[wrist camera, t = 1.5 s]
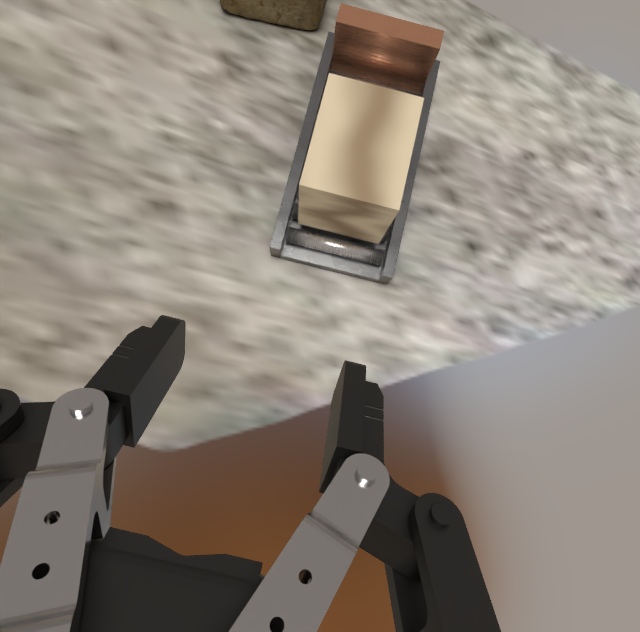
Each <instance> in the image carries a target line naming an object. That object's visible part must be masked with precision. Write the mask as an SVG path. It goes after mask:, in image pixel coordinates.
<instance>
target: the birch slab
mask: <svg viewBox="0 0 640 632" xmlns="http://www.w3.org/2000/svg"><path fill="white" fill-rule="evenodd" d="M423 102H424V98H423V97H419V96H415V95H412V94H408V93H404V92H400V91H396V90H392V89H389V88H385V87H381V86H377V85H373V84H370V83H366V82H362V81H358V80H354V79H351V78H347V77H343V76H339V75H335V74H332V73H329V75H328V79H327V82H326V86H325V90H324V94H323V97H322V101H321V105H320V109H319V112H318V116H317V120H316V123H315V127H314V131H313V135H312V138H311V142H310V146H309V149H308V153H307V157H306V161H305V164H304V168H303V172H302V176H301V179H300V183H299V207H298V224H302V225H306V226H310V227H314V228H318V229H322V230H326V231H329V232H333V233H337V234H341V235H345V236H349V237H353V238H357V239H361V240H365V241H369V242H373V243H377V244H379V243H380V241H381V239H382V238H383V236H384V235H385V233H386V231H387V230H388V228H389V226H390V225H391V223H392V222H393V220H394V218H395V217H396V215H397V213H398V212H399V210H400V205H401V201H402V196H403V192H404V187H405V183H406V178H407V174H408V169H409V165H410V160H411V156H412V151H413V147H414V142H415V138H416V133H417V129H418V124H419V120H420V115H421V111H422V106H423Z"/></svg>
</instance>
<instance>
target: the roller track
mask: <svg viewBox="0 0 640 632" xmlns="http://www.w3.org/2000/svg"><path fill="white" fill-rule="evenodd" d="M443 33H444V31H442V30H439V29H435V28H431V27H427V26H424V25H420V24H416V23H412V22H409V21H405V20H401V19H397V18H394V17H390V16H386V15H382V14H379V13H375V12H371V11H367V10H364V9H360V8H356V7H352V6H349V5H345V4H341V5H340V9H339V13H338V16H337V20H336V27H335V33H332V32H328V36H327V40H326V43H325V47H324V51H323V54H322V58H321V62H320V65H319V69H318V73H317V76H316V80H315V84H314V87H313V91H312V95H311V98H310V102H309V105H308V109H307V113H306V116H305V120H304V124H303V127H302V131H301V135H300V138H299V142H298V146H297V149H296V153H295V157H294V160H293V164H292V168H291V171H290V175H289V178H288V182H287V186H286V189H285V193H284V197H283V200H282V204H281V208H280V211H279V215H278V219H277V222H276V226H275V230H274V233H273V237H272V241H271V244H270V251H271V256H275V257H279V258H283V259H287V260H291V261H294V262H298V263H302V264H306V265H310V266H314V267H318V268H322V269H326V270H330V271H334V272H338V273H342V274H346V275H350V276H354V277H358V278H362V279H366V280H370V281H374V282H378V283H382V284H387V283H388V282H389V281H390V280H391V279H392V278H393V275H394V270H395V265H396V261H397V256H398V252H399V247H400V243H401V238H402V233H403V229H404V224H405V220H406V215H407V211H408V206H409V201H410V197H411V192H412V188H413V183H414V179H415V174H416V169H417V165H418V160H419V156H420V151H421V147H422V142H423V137H424V133H425V128H426V124H427V119H428V115H429V110H430V105H431V101H432V96H433V92H434V87H435V82H436V78H437V73H438V69H439V64H440V61H438V60H435V59H436V57H437V55H438V52H439V50H440V47H441V42H442V38H443ZM329 73H332V74H335V75H339V76H343V77H347V78H351V79H354V80H358V81H362V82H366V83H370V84H373V85H377V86H381V87H385V88H389V89H392V90H396V91H400V92H404V93H408V94H412V95H415V96H419V97H423V98H424V102H423V106H422V111H421V115H420V120H419V124H418V129H417V133H416V138H415V142H414V147H413V151H412V156H411V160H410V165H409V169H408V174H407V178H406V183H405V187H404V192H403V196H402V201H401V205H400V210H399V212H398V213H397V215H396V217H395V218H394V220H393V222H392V223H391V225H390V226H389V228H388V230H387V231H386V233H385V235H384V236H383V238H382V239H381V241H380V243H379V244H377V243H373V242H369V241H365V240H361V239H357V238H353V237H349V236H345V235H341V234H337V233H333V232H329V231H326V230H322V229H318V228H314V227H310V226H306V225H302V224H298V207H299V183H300V179H301V176H302V172H303V168H304V164H305V161H306V157H307V153H308V149H309V146H310V142H311V138H312V135H313V131H314V127H315V123H316V120H317V116H318V112H319V109H320V105H321V101H322V97H323V94H324V90H325V86H326V82H327V79H328V75H329Z"/></svg>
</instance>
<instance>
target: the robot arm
mask: <svg viewBox="0 0 640 632" xmlns="http://www.w3.org/2000/svg"><path fill="white" fill-rule="evenodd" d="M184 355H185V321H184V320H181V319H176V318H172V317H168V316H164V315H162V316H160V317H159V318H158V320H157V321H156V322H155V324H154V325H153V326H152V328H149V327H145V326H141V327H140V328H138V329H136V330H134V331H133V332H131V333H129V334H128V335H127V336H126V338H125V339H124V340H123V341H122V342H121V344H120V346H118V347H117V348H116V350H115V351H114V352H113V354H112V355H111V356H110V357H109V358H108V359H107V361H106V362H105V363H104V364H103V365H102V367H101V368H100V369H99V370H98V371H97V373H96V374H95V375H94V376H93V377H92V379H91V380H90V381H89V382H88V384H87V385H86V386H85V387H84V388H80V389H75V390H72V391H70V392H67V393H65V394H64V395H62V396H61V397H60V398H58V399H57V401H54V402H35V403H20V400H19V397H18V396H17V394H15V393H14V392H12V391H10V390H7V389H0V507H1V506H2V505H3V504H4V503H5V502H6V501H7V500H8V499H9V498H10V497H11V496H12V495H13V494H15V493H16V492H17V491H18V490H19V489H20V488H21V487H22V486H23V487H22V490H21V494H20V498H19V501H18V505H17V508H16V512H15V516H14V519H13V523H12V526H11V530H10V534H9V537H8V541H7V544H6V548H5V551H4V555H3V559H2V562H1V566H0V632H317V630H318V628H319V626H320V624H321V622H322V620H323V618H324V616H325V614H326V612H327V610H328V608H329V606H330V604H331V602H332V600H333V598H334V596H335V594H336V592H337V590H338V588H339V586H340V584H341V582H342V580H343V578H344V576H345V574H346V572H347V570H348V568H349V566H350V564H351V562H352V560H353V558H354V556H355V554H356V552H357V550H358V547H360V548H362V549H363V550H365V551H366V552H368V553H370V554H371V555H373V556H374V557H376V558H378V559H379V560H381V561H382V562H384V563H385V569H386V575H387V581H388V587H389V593H390V599H391V605H392V611H393V617H394V623H395V630H396V632H501V630H500V627H499V624H498V621H497V618H496V615H495V612H494V609H493V606H492V603H491V600H490V597H489V594H488V591H487V588H486V585H485V582H484V579H483V576H482V573H481V570H480V567H479V564H478V561H477V558H476V555H475V552H474V549H473V546H472V543H471V540H470V537H469V534H468V531H467V528H466V525H465V522H464V519H463V516H462V514H461V512H460V511H459V509H458V508H457V506H456V505H455V504H454V503H453V502H452V501H450V500H449V499H448V498H446V497H444V496H442V495H439V494H436V493H427V494H424V495H422V496H421V497H418V496H416V495H414V494H413V493H411V492H409V491H408V490H406V489H404V488H402V487H401V486H399V485H398V484H397V483H396V482H395V481H394V480H393V479H392V478H391V477H390V475H389V474H388V471H387V469H386V468H385V465H384V459H383V458H384V456H383V455H384V452H383V451H384V449H383V448H384V446H383V445H384V442H383V440H384V439H383V438H384V437H383V395H382V392H381V390H380V388H379V386H378V384H376V383H372V382H368V381H365V380H366V365H362V364H358V363H354V362H350V361H346V360H345V361H344V364H343V367H342V370H341V373H340V376H339V379H338V382H337V385H336V388H335V391H334V394H333V398H332V403H331V408H330V416H329V423H328V430H327V437H326V445H325V452H324V459H323V467H322V475H321V482H320V489H319V492H320V493H324V494H323V495H322V497H321V498H320V500H319V501H318V503H317V504H316V506H315V508H314V509H313V510H312V512H311V513H308V514H307V515H306V516H305V518H304V519H303V520H302V522H301V523H300V525H299V526H298V528H297V529H296V531H295V532H294V534H293V536H292V537H291V539H290V540H289V542H288V543H287V545H286V546H285V548H284V549H283V551H282V552H281V554H280V555H279V557H278V558H277V560H276V561H275V563H274V564H273V566H272V567H271V569H270V570H269V572H268V573H267V575H266V576H263V575H261V574H260V572H261V568H262V562H257V561H253V560H249V559H244V558H240V557H236V556H232V555H227V554H214V555H194V556H183V555H180V554H178V553H176V552H174V551H173V550H171V549H169V548H168V547H166V546H164V545H162V544H161V543H159V542H157V541H156V540H154V539H152V538H150V537H149V536H146V535H142V534H138V533H133V532H129V531H125V530H120V529H116V528H112V527H110V519H111V507H112V498H113V488H114V478H115V468H116V455H117V453H118V452H119V450H120V448H121V447H122V446H123V445H126V446H130V447H135V446H136V444H137V442H138V441H139V439H140V437H141V436H142V434H143V432H144V431H145V429H146V427H147V425H148V424H149V422H150V420H151V419H152V417H153V415H154V414H155V412H156V410H157V408H158V407H159V405H160V403H161V402H162V400H163V398H164V397H165V395H166V393H167V391H168V390H169V388H170V386H171V385H172V383H173V381H174V380H175V378H176V376H177V374H178V373H179V371H180V369H181V367H182V364H183V360H184Z"/></svg>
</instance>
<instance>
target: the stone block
mask: <svg viewBox="0 0 640 632" xmlns="http://www.w3.org/2000/svg"><path fill="white" fill-rule="evenodd" d="M325 3H326V0H220V4H221V7H222V9H224V10H226V11H228V12H229V13H232V14H236V15H241V16H243V17H245V18H250V19H258V20H261V21H265V22H269V23H275V24H279V25H286V26H289V27H292V28H297V29H303V30H313V29H317V27H318V25H319V22H320V19H321V16H322V13H323V10H324V7H325Z"/></svg>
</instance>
